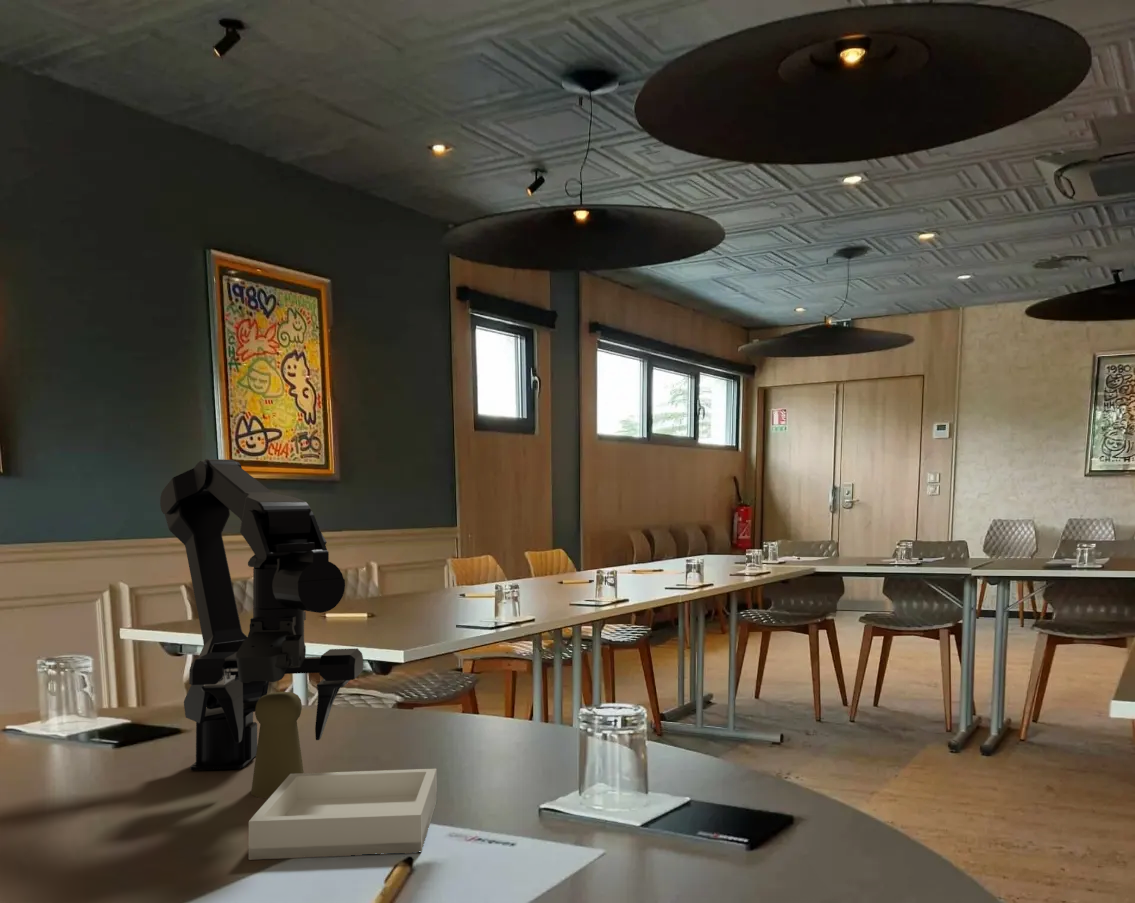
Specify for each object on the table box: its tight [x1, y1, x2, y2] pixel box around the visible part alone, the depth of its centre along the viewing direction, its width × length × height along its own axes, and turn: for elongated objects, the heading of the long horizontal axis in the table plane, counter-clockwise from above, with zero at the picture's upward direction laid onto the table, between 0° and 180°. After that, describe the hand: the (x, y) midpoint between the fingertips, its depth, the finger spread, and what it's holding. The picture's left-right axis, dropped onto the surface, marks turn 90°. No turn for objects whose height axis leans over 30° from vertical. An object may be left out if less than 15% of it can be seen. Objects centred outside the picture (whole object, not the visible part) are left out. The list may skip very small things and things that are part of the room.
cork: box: [250, 691, 305, 799], centre depth 99 cm, size 6×6×11 cm
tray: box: [248, 768, 438, 861], centre depth 86 cm, size 16×14×4 cm
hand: (278, 740), depth 99 cm, fingers open, 9 cm apart
